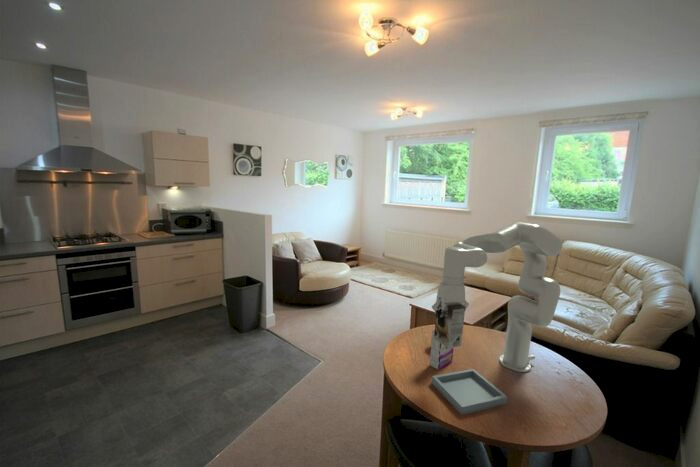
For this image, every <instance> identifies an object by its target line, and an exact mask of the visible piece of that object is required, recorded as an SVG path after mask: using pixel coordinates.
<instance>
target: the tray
mask: <svg viewBox="0 0 700 467" xmlns="http://www.w3.org/2000/svg"><path fill="white" fill-rule="evenodd" d="M431 385H433V386H434V387H435V389H437V391H438V392H439V393H440V394H441V395H442V396H443V398H445V399H446V400H447V401H448V402H449V403H450V405H451V406H452V407H453V408H454V409H455V410H456V411H457V413H459V414H460V415H461V416H464V415H469V414H471V413H476V412H479V411H483V410H487V409H488V410H489V409H493V408H497V407H501V406H505V405H507V404H508V399H509V397H508V395H506V394H505V393H504V392H502V391H501V390H500V389H499V388H498V387H496V386H495V385H494V384H493V383H492V382H490V381H489V380H487V378H485V376H483V375H482V374H480V372H478V371H477V370H476V369H474V368H470V369H466V370H465V369H464V370H459V371H453V372H448V373H442V374H437V375H432V376H431Z"/></svg>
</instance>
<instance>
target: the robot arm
mask: <svg viewBox="0 0 700 467" xmlns="http://www.w3.org/2000/svg"><path fill="white" fill-rule="evenodd" d="M515 246H519V248H520V249H521V252H522V253H523V259H524V262H523V267H522V270H521V273H520V276H519V280H518V284H517V287H518V290H519V291H520V292H521V293H524V294H526V295H528V296H530V297H534V298H536V299H538V301H537V300H533V299H532V298H529V297H526V296H523V295H519V294H518V295H513V296H512V297H510V299H509V300H508V303H507V317H508V320H507V321H508V322H507V327H506V335H505V336H506V337H505V343H504V351H503V354H502V355H500V356H499V359H498V361H499V363H500V364H501V365H503V367H504V368H506V369H507V370H511V371H513V372H517V373H527V372H529V371H531V367H532V366H531V364H530V361H533V360H535V359H536V357H535V355H533V354H530V347H531V340H532V334H533V327H532V325H534V326H536V327H540V328H547V327H548V326H550V324H551V323H552V321H553V319H554V316H555V312H556V308H557V306H558V303H559V299H560V296H561V286H560V283H559V282H558V281H557V280H555V279H553V278H549V277H547V276H545V274H546V271H547V267H548V262H547V258H546V257H549V258H550V257H556V256H558V255H560V253H561V251H562V250H563V242H562V240H561V238H560V237H559V236H557V235H556V234H555V233H553V232H551V231H550V229H549V230H548V229H547V228H545V227H544V226H541V225H539V224H536V223H528V222H520V221H519V222H513V223H510V224H509V225H506V226H505V227H503V228H500V229H498V230H495V231H494V232H491V233H485V234H480V235H474V236H470V237H467V238H464V239H462V240H460V241H458V242H456V243H455V244H453V246H449V247H446V248H445V251H444V256H443V258H444V260H443V270H442V281H441V282H440V283H439V285H438V289H437V294H436V298H435V303H433V305H431V309H432V310H433V311H434V312H435V314H436V313H437V315H438V321H437V322H438V325H440V326H441V327H444V319H445V318H444V317H443V316H444V314H445V311H446V310H447V307H448V305H461V304H462V305H464V306H465V311H466V310H467V308H468V307H469V306H470V303H469V302H468V301H467V300H466V286H465V284H464V281H465V280H467V278H466V276H465V272H466V270H465V269H466V268H475V269H476V268H481V267H482V266H484V265H485V264H486V263H487V261H488V254H487V253H489V254H499V253H504V252H507V251H508V250H510V249H512V248H514V247H515ZM440 304H441V305H440ZM437 307H439V309H437ZM441 310H442V312H441ZM529 354H530V355H529Z"/></svg>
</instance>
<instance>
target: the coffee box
mask: <svg viewBox="0 0 700 467" xmlns="http://www.w3.org/2000/svg"><path fill="white" fill-rule="evenodd" d="M440 305H441V304H440ZM437 309H439V307H437ZM465 311H466V310H465V306H464V305H462V304H461V305H448V307H447V310H446V311H445V314H444V316H443V317H444V318H445V319H444V327H441V326H440V325H438V322H437V321H438V315H437V313H436V312H435V321H434V330H435V332H434V338H435V339H437V340H438V341H439V342H441V343H442V344H443V345H445V346H446V347H447V348H453V349H454V348H457V347H462V339H463V330H464V324H465V313H466V312H465ZM441 312H442V310H441Z"/></svg>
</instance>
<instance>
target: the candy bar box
mask: <svg viewBox="0 0 700 467" xmlns="http://www.w3.org/2000/svg"><path fill="white" fill-rule="evenodd" d="M434 332H435V329H433V330H432V331H431V343H430V344H431V345H430V354H429V355H430V356H429V366H430V367H431V368H433V369H435V370H437V371H439V370H441V369H443V368H444V367H446V366H447V365H449V364H451V363H452V362H453V358H454V357H453V356H454V347H453V348H447V347H446V346H445V345H443V344H442V343H441V342H439V341H438V340H437V339H435V338H434Z"/></svg>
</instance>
